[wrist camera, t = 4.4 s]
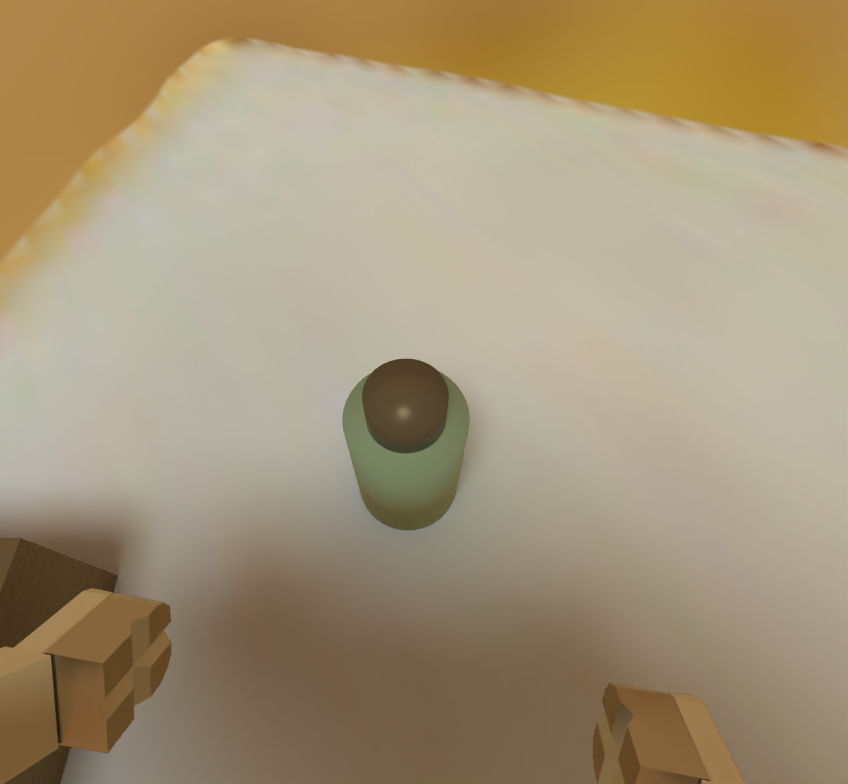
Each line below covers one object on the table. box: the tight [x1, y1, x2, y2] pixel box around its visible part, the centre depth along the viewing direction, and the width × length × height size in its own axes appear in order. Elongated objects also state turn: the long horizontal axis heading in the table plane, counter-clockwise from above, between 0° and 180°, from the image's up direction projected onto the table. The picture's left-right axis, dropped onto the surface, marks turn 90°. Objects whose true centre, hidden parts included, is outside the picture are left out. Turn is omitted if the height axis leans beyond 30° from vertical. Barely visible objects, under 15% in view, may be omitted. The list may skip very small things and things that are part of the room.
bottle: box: [343, 359, 469, 530], centre depth 20 cm, size 4×4×8 cm
